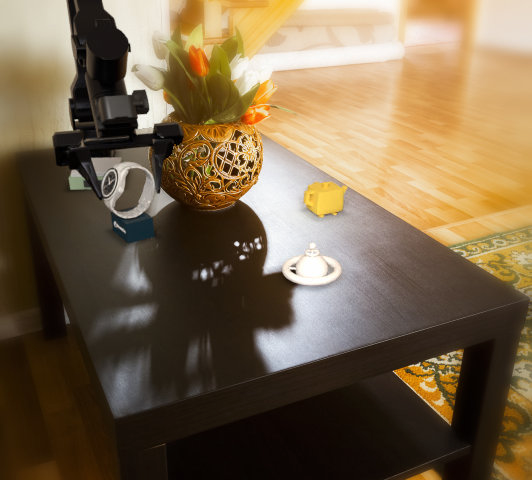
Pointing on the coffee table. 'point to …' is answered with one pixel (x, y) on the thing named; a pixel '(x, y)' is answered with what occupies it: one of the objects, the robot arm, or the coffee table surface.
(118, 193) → the watch
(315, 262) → the ring around a ball
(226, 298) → the coffee table surface
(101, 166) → the scale
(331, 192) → the teapot
